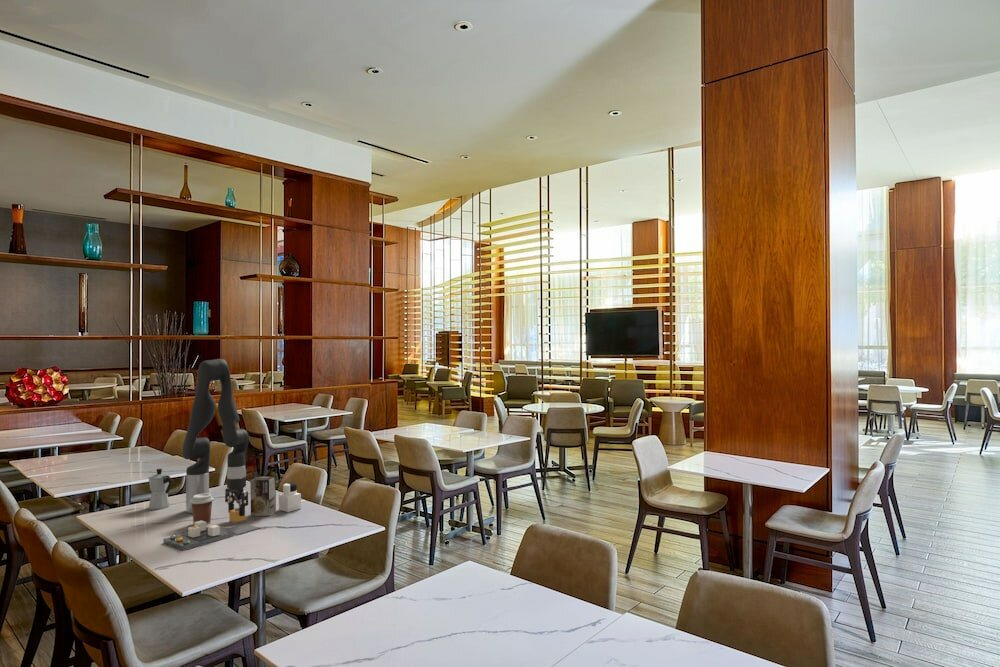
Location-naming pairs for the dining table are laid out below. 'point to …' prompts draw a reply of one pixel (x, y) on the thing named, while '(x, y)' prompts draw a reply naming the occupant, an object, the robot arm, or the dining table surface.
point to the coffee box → (263, 496)
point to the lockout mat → (243, 529)
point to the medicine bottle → (289, 498)
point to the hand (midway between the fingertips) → (236, 514)
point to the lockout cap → (235, 516)
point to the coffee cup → (202, 507)
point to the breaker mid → (194, 531)
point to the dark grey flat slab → (196, 539)
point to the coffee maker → (159, 490)
